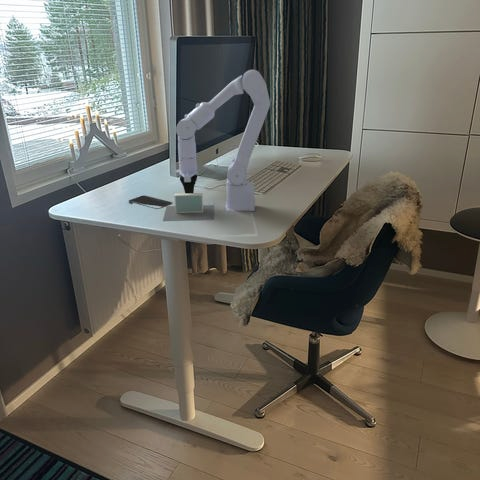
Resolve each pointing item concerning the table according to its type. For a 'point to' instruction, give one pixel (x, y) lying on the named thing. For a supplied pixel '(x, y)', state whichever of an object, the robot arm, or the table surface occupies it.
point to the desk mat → (189, 214)
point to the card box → (188, 202)
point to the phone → (150, 201)
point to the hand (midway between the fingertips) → (189, 197)
